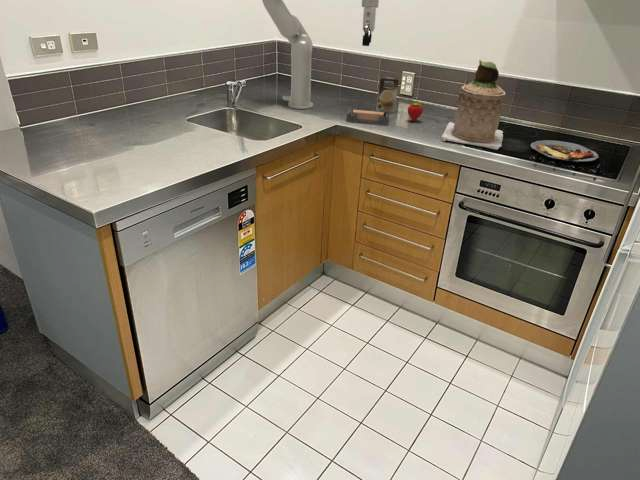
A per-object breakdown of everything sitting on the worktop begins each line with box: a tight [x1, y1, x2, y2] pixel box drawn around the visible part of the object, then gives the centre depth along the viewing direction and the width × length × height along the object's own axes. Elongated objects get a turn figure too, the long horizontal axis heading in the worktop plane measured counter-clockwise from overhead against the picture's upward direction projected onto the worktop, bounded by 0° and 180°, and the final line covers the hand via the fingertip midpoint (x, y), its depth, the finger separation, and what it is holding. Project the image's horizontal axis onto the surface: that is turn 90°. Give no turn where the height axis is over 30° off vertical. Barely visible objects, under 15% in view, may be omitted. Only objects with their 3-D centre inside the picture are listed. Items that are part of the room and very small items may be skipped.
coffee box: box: [375, 75, 400, 114], centre depth 237 cm, size 9×6×16 cm
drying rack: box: [345, 109, 390, 127], centre depth 224 cm, size 19×10×4 cm, turn 80°
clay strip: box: [353, 109, 384, 121], centre depth 224 cm, size 4×14×3 cm, turn 80°
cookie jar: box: [441, 59, 507, 151], centre depth 202 cm, size 25×25×32 cm
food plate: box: [530, 139, 600, 163], centre depth 195 cm, size 25×23×4 cm
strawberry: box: [407, 99, 424, 122], centre depth 225 cm, size 6×8×10 cm
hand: (366, 44), depth 227 cm, fingers open, 9 cm apart
